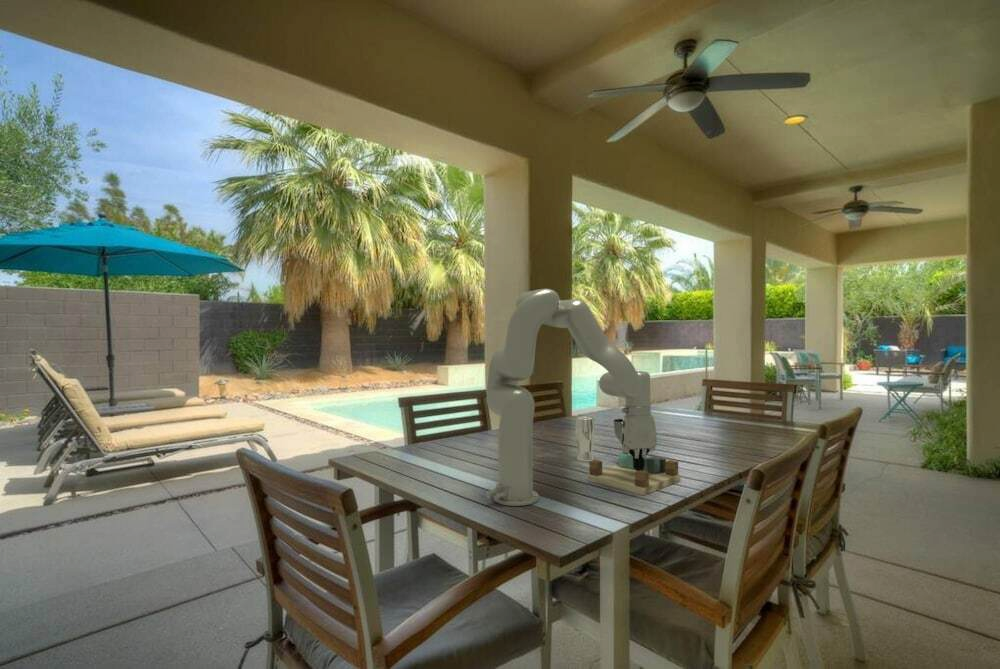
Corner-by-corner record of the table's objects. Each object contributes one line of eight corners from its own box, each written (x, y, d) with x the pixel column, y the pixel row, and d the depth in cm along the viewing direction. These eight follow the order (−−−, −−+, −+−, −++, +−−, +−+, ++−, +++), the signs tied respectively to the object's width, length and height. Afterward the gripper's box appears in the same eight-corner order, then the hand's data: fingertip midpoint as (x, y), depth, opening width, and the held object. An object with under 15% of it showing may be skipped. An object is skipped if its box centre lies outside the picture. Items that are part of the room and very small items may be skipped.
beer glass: (593, 462, 180) (593, 420, 180) (574, 461, 183) (573, 419, 183) (596, 457, 187) (596, 416, 187) (577, 456, 189) (577, 416, 189)
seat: (644, 495, 144) (643, 474, 144) (587, 480, 159) (587, 461, 159) (680, 481, 157) (680, 461, 157) (625, 468, 172) (625, 450, 172)
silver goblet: (641, 462, 179) (640, 420, 179) (630, 467, 173) (630, 423, 173) (620, 459, 185) (620, 417, 185) (609, 463, 179) (609, 420, 179)
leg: (661, 471, 160) (660, 456, 160) (653, 473, 157) (653, 459, 157) (624, 463, 170) (623, 449, 170) (616, 465, 167) (616, 451, 167)
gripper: (620, 414, 153) (621, 475, 153) (666, 412, 156) (667, 471, 156) (610, 410, 161) (611, 468, 161) (654, 408, 164) (654, 465, 164)
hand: (638, 470), depth 159 cm, fingers closed
